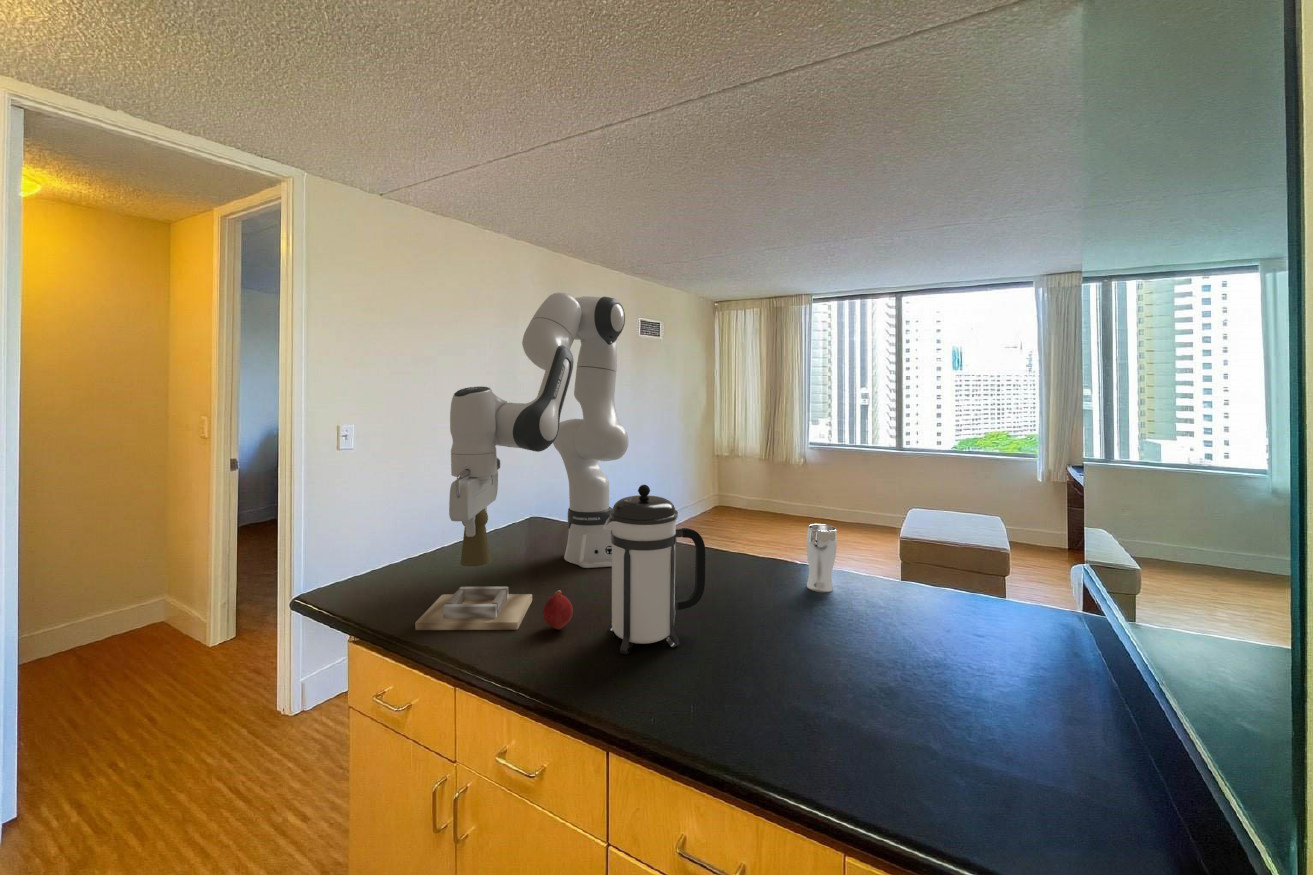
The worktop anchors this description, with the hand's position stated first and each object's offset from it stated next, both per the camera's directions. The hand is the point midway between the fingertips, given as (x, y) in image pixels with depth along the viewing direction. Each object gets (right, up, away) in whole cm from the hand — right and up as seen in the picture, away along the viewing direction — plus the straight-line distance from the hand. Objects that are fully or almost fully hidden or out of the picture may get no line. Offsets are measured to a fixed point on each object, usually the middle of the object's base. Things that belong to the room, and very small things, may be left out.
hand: (475, 531), depth 108 cm
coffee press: (+36, -19, -7) cm, 41 cm away
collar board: (0, -18, +2) cm, 18 cm away
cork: (0, -7, +1) cm, 7 cm away
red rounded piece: (+18, -19, -5) cm, 26 cm away
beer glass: (+77, -17, +18) cm, 81 cm away
